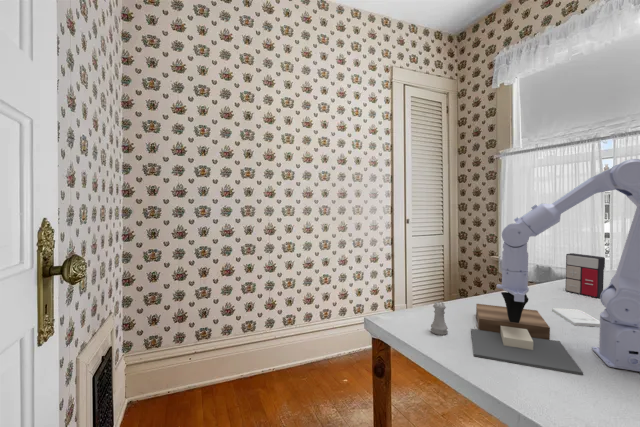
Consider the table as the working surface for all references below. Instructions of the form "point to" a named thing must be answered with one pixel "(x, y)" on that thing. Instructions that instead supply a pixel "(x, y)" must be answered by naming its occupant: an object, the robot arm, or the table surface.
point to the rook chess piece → (439, 320)
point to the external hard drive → (577, 317)
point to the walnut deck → (497, 316)
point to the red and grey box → (585, 274)
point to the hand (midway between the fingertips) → (513, 321)
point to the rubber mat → (524, 352)
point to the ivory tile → (516, 337)
